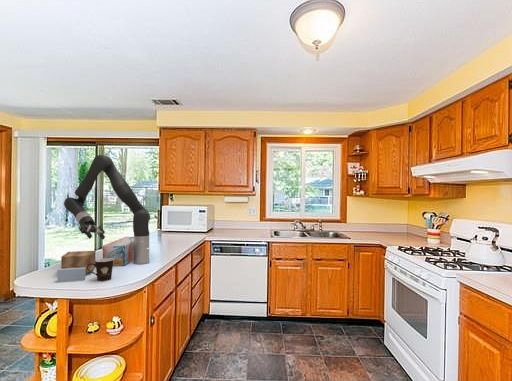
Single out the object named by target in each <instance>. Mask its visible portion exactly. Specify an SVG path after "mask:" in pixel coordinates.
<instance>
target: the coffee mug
mask: <svg viewBox="0 0 512 381" xmlns="http://www.w3.org/2000/svg"><path fill="white" fill-rule="evenodd" d="M113 261H114V259H112V258H103V257H102V258H97V259H95V264H93V263H91V264H89V265H94V266H95V267H94V268H95V272H93V270H92V271H90V270H89V269H88V266H89V265H87V270H88V271H89V273H91V274H94V275H95V276H96V277H97V278H96V279H97V281H98V282H106V281H110V280H112V274H113V267H114V266H113Z"/></svg>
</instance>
